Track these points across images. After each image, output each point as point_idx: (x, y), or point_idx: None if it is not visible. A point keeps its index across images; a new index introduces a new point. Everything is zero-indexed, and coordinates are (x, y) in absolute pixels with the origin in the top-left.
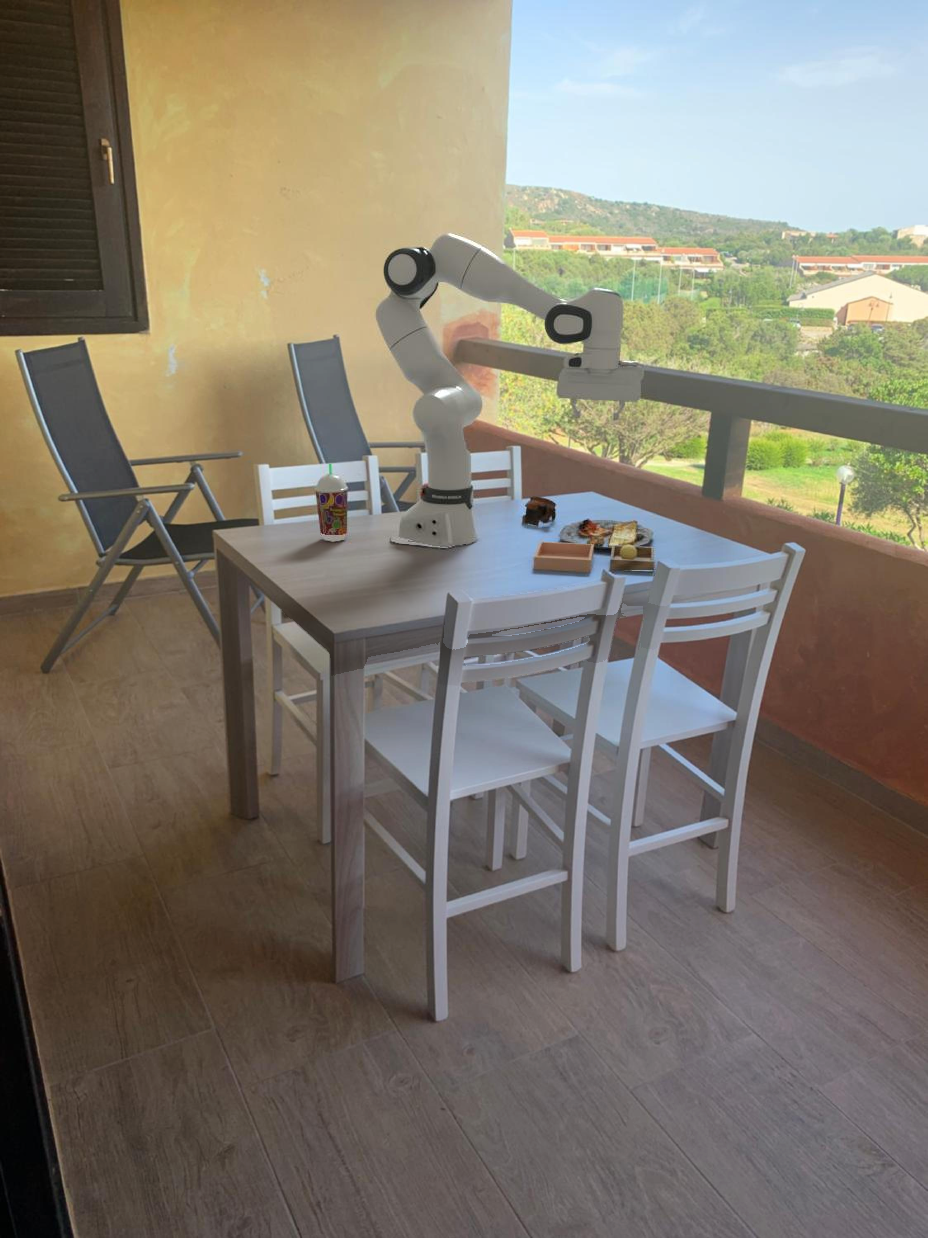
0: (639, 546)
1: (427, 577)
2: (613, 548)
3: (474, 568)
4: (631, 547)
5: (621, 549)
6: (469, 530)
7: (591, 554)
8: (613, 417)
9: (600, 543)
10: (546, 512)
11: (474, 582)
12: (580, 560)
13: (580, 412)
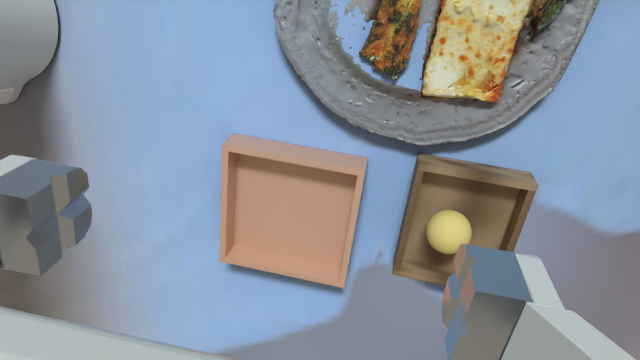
0: (496, 177)
1: (51, 275)
2: (416, 193)
3: (115, 233)
4: (454, 251)
5: (429, 239)
6: (22, 51)
7: (349, 251)
8: (447, 320)
9: (400, 67)
10: None
11: (135, 304)
12: (321, 281)
13: (51, 214)
